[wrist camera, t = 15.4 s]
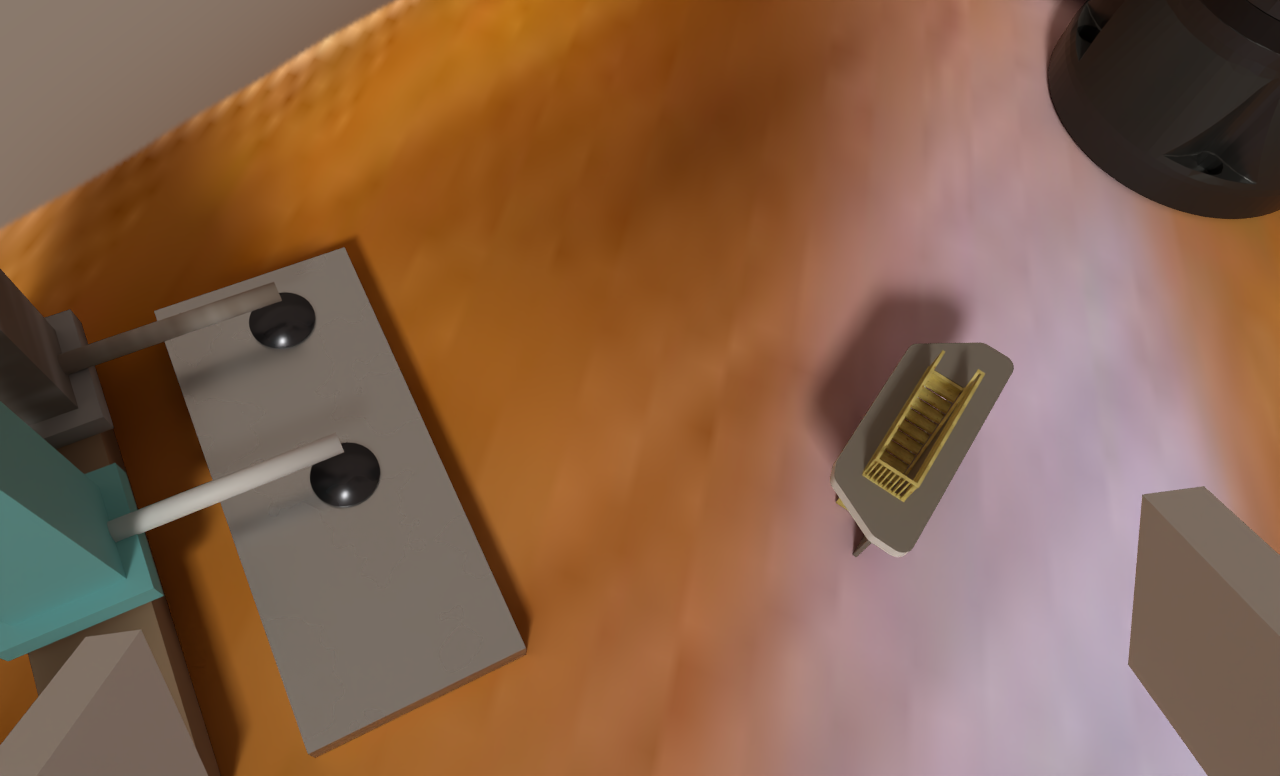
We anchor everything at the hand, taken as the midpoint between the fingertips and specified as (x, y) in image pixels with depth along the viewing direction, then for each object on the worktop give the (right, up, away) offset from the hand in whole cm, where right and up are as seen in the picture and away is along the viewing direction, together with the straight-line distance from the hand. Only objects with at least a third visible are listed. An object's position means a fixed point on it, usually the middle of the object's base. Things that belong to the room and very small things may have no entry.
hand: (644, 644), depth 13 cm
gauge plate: (-12, 0, +25) cm, 28 cm away
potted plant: (+10, 0, +28) cm, 30 cm away
